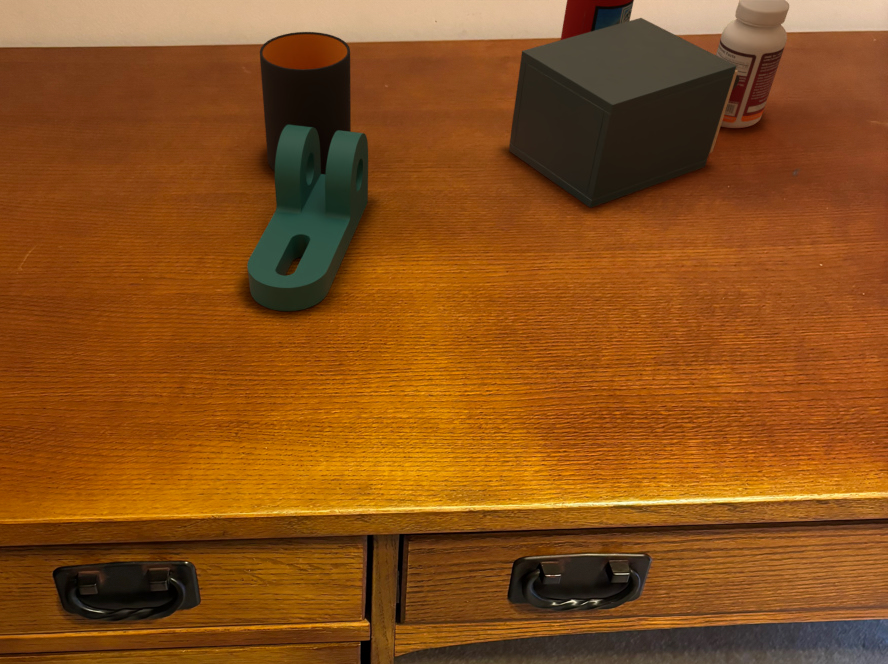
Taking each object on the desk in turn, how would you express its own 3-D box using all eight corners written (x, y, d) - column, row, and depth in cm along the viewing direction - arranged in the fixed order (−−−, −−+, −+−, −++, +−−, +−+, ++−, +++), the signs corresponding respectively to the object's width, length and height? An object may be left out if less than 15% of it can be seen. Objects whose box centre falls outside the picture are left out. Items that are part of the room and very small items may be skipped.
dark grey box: (619, 115, 97) (641, 17, 89) (705, 167, 90) (737, 65, 82) (508, 150, 92) (521, 50, 84) (590, 208, 85) (612, 104, 78)
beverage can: (601, 102, 98) (627, -21, 89) (543, 88, 101) (563, -34, 91) (624, 78, 102) (651, -43, 93) (567, 65, 104) (588, -55, 95)
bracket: (298, 193, 87) (294, 110, 81) (367, 202, 86) (368, 119, 80) (239, 304, 76) (229, 218, 70) (317, 316, 75) (314, 229, 69)
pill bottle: (751, 102, 98) (788, -10, 90) (767, 130, 94) (807, 15, 86) (693, 102, 98) (724, -10, 90) (706, 130, 94) (741, 15, 86)
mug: (322, 117, 97) (319, 11, 89) (362, 171, 89) (363, 61, 81) (247, 131, 95) (237, 24, 87) (282, 187, 88) (274, 76, 80)
